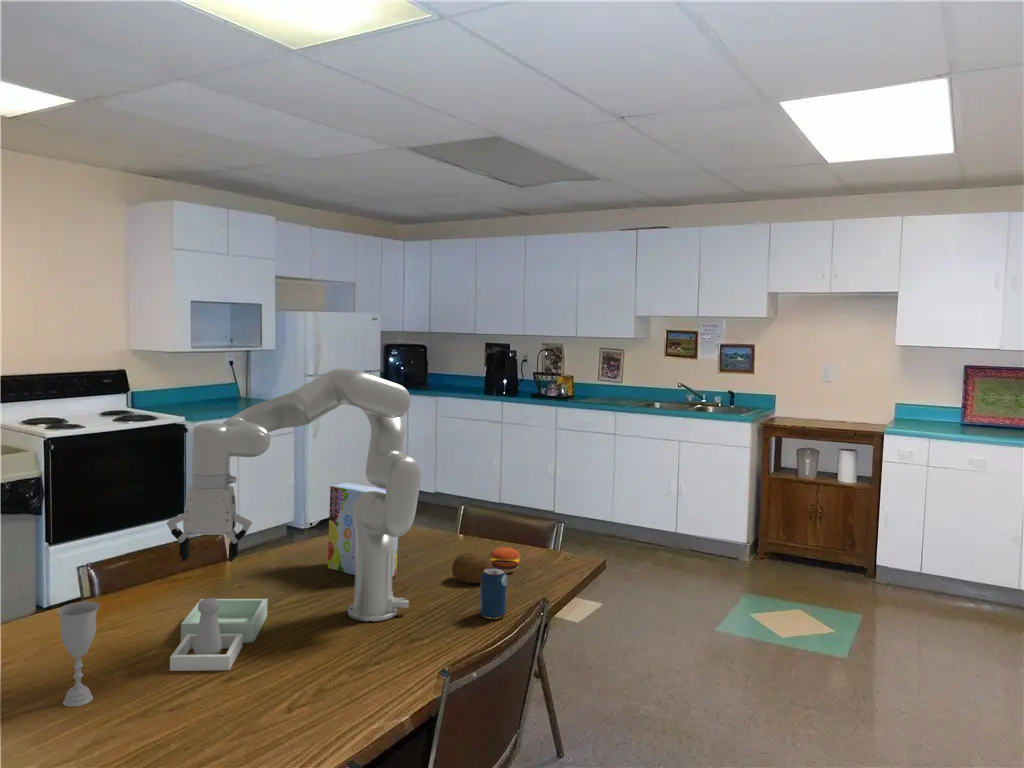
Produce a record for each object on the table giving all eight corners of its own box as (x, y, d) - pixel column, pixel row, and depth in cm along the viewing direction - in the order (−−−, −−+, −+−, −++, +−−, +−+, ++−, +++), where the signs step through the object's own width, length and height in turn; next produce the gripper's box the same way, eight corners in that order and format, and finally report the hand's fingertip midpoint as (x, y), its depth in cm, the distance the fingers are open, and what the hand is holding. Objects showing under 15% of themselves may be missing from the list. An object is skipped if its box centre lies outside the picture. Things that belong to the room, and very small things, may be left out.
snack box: (398, 576, 223) (402, 491, 222) (378, 583, 216) (381, 495, 214) (346, 561, 235) (348, 480, 233) (325, 568, 228) (328, 484, 226)
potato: (481, 590, 214) (482, 560, 214) (445, 583, 219) (446, 553, 219) (494, 582, 222) (495, 553, 222) (459, 575, 227) (460, 546, 226)
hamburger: (490, 563, 240) (491, 543, 239) (520, 565, 240) (521, 545, 239) (488, 573, 230) (489, 551, 230) (519, 574, 230) (521, 553, 230)
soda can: (511, 616, 196) (513, 571, 195) (492, 622, 191) (494, 576, 190) (492, 608, 200) (494, 564, 200) (473, 615, 195) (475, 570, 195)
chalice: (69, 690, 146) (69, 601, 145) (105, 691, 147) (106, 601, 146) (49, 709, 139) (49, 615, 138) (87, 709, 140) (88, 615, 139)
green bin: (267, 616, 188) (267, 598, 188) (253, 642, 172) (253, 623, 172) (200, 616, 186) (201, 598, 186) (180, 643, 170) (180, 624, 170)
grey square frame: (242, 646, 170) (242, 633, 170) (229, 670, 158) (229, 656, 158) (187, 646, 169) (187, 633, 168) (169, 670, 157) (170, 656, 156)
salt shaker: (211, 665, 160) (212, 606, 159) (187, 662, 161) (188, 603, 160) (227, 654, 166) (228, 597, 165) (203, 651, 167) (204, 594, 166)
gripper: (256, 479, 166) (253, 554, 167) (174, 477, 163) (172, 554, 164) (248, 485, 158) (246, 565, 159) (162, 483, 156) (160, 564, 157)
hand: (208, 559), depth 162 cm, fingers open, 9 cm apart
